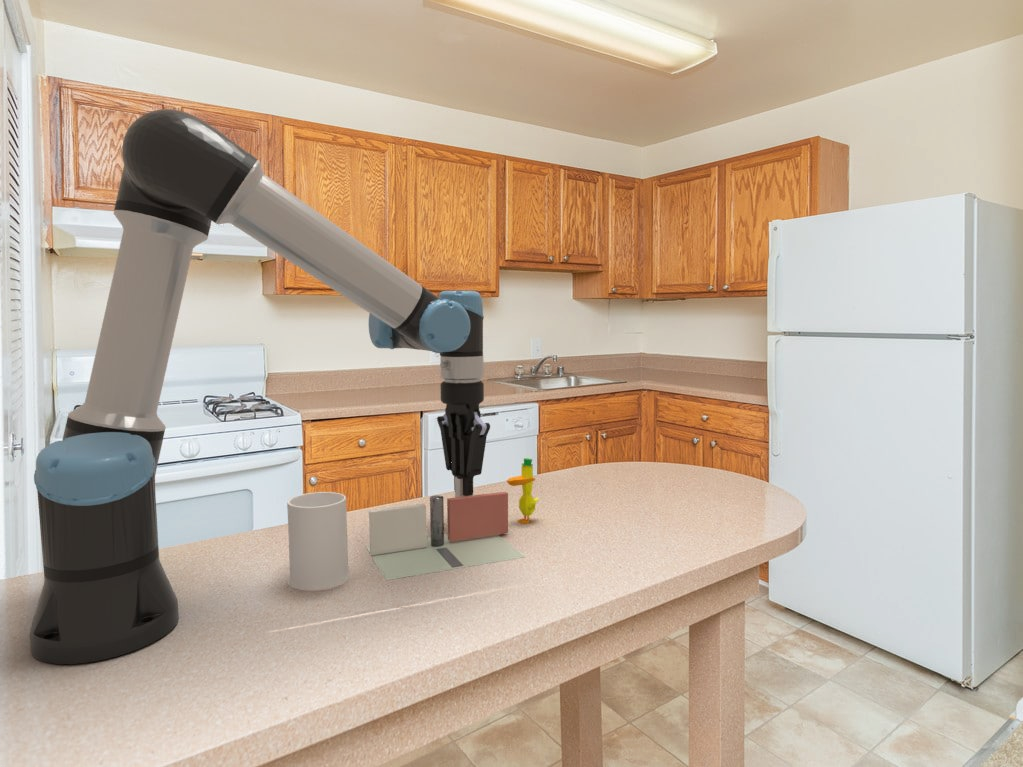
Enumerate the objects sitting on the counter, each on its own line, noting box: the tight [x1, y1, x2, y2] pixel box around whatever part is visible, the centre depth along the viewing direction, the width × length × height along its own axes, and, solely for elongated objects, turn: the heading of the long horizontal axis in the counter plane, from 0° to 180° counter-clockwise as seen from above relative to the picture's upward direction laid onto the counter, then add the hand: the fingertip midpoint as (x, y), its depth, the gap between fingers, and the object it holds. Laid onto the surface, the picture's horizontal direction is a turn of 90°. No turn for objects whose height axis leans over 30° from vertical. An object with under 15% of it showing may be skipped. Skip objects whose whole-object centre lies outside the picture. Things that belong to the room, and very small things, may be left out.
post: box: [429, 494, 445, 547], centre depth 106 cm, size 2×2×8 cm
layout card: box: [365, 534, 526, 581], centre depth 104 cm, size 22×15×1 cm
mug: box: [286, 491, 351, 592], centre depth 94 cm, size 12×8×12 cm
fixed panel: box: [368, 503, 427, 557], centre depth 104 cm, size 9×1×7 cm, turn 113°
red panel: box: [446, 491, 509, 542], centre depth 109 cm, size 10×1×7 cm, turn 114°
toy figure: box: [506, 457, 540, 525], centre depth 118 cm, size 7×4×12 cm, turn 121°
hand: (464, 511), depth 115 cm, fingers closed
